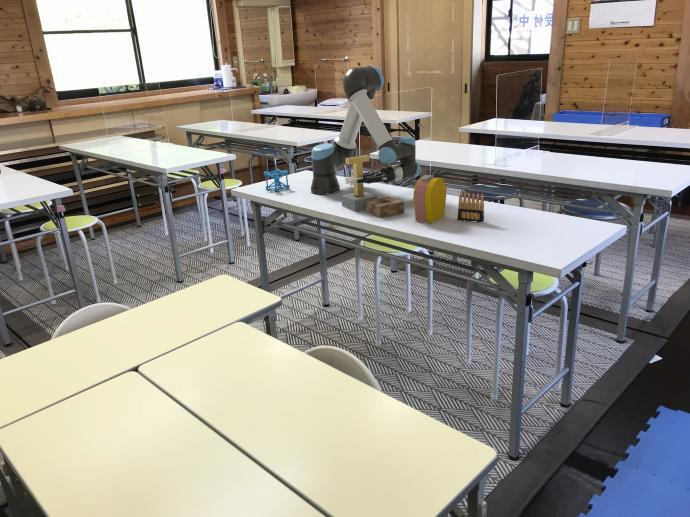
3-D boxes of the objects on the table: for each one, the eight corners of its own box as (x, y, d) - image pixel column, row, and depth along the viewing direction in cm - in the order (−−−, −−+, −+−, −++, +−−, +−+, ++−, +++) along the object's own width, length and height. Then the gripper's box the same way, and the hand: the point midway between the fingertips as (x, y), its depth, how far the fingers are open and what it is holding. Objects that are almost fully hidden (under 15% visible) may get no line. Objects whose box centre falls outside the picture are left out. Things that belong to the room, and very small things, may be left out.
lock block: (366, 211, 242) (365, 201, 240) (388, 207, 248) (388, 196, 246) (381, 218, 232) (380, 206, 231) (403, 212, 238) (403, 201, 236)
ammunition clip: (457, 220, 224) (457, 192, 220) (458, 219, 226) (459, 191, 221) (482, 222, 219) (484, 194, 215) (484, 221, 221) (485, 192, 216)
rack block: (341, 205, 254) (341, 195, 252) (363, 201, 259) (363, 191, 257) (355, 211, 244) (354, 200, 242) (377, 206, 249) (377, 196, 247)
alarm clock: (428, 212, 236) (429, 171, 230) (446, 215, 232) (446, 172, 225) (412, 222, 225) (411, 178, 218) (430, 224, 221) (430, 180, 214)
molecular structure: (279, 186, 297) (278, 168, 294) (290, 188, 290) (289, 170, 287) (264, 189, 291) (262, 171, 287) (275, 192, 284) (273, 173, 280)
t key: (347, 204, 250) (345, 158, 242) (367, 200, 255) (365, 154, 247) (350, 205, 247) (348, 159, 239) (371, 201, 252) (369, 155, 244)
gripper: (401, 184, 250) (357, 193, 239) (381, 178, 263) (339, 186, 252) (400, 168, 247) (356, 176, 236) (381, 163, 260) (338, 170, 250)
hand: (348, 181), depth 244 cm, fingers closed on t key, 3 cm apart
